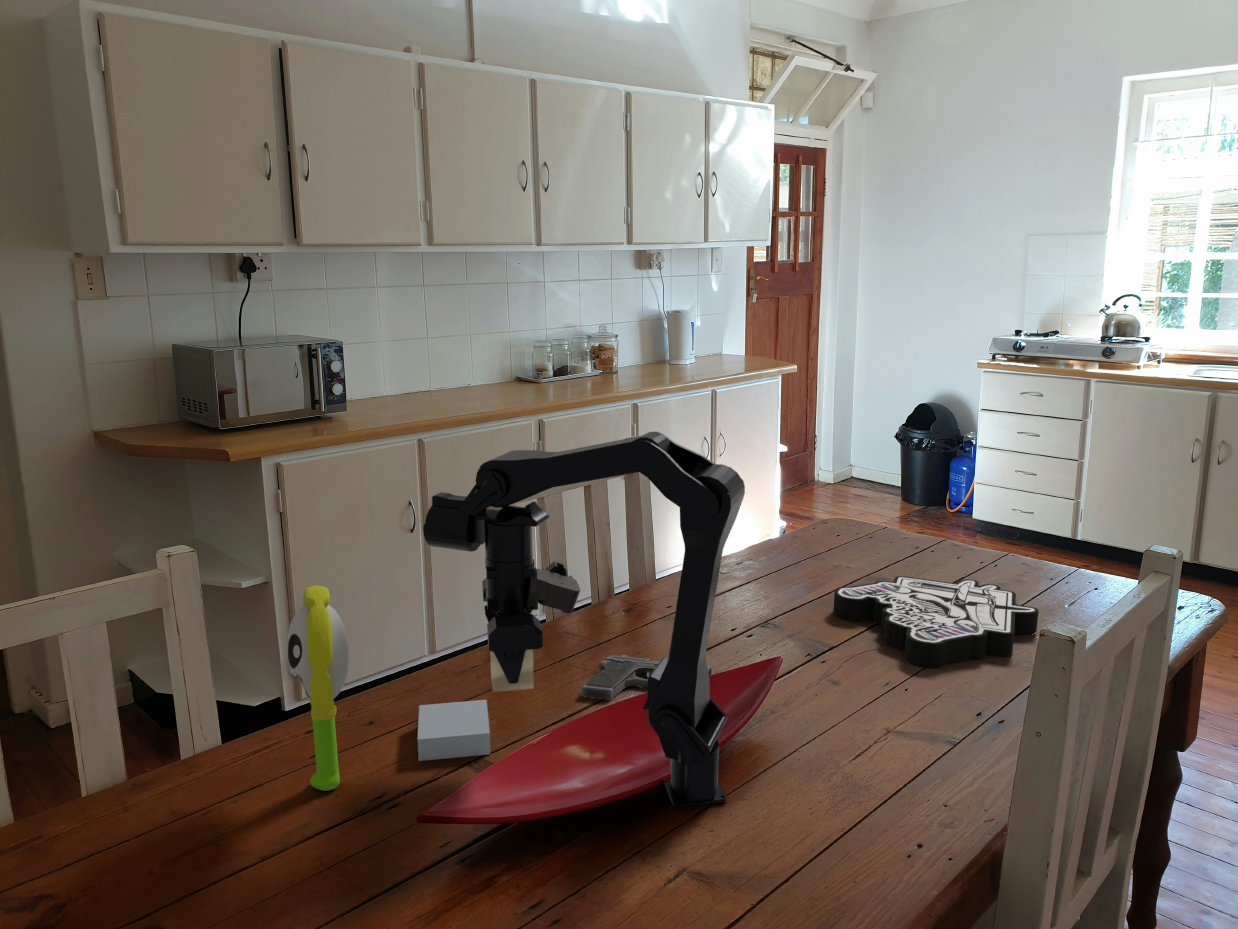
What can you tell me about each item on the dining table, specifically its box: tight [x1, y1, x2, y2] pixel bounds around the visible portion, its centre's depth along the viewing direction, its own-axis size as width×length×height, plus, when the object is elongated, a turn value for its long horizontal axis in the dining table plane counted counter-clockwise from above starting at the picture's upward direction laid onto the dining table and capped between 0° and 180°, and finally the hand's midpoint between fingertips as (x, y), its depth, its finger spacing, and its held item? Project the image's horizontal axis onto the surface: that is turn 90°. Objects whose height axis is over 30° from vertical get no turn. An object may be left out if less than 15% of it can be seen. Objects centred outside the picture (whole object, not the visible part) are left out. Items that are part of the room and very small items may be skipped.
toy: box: [286, 585, 350, 792], centre depth 108 cm, size 15×7×25 cm, turn 21°
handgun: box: [580, 654, 713, 701], centre depth 137 cm, size 2×17×12 cm
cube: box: [489, 649, 535, 693], centre depth 115 cm, size 5×5×5 cm
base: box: [417, 699, 491, 762], centre depth 121 cm, size 9×9×3 cm
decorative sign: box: [832, 575, 1040, 670], centre depth 158 cm, size 28×4×30 cm
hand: (511, 673), depth 116 cm, fingers closed on cube, 5 cm apart
